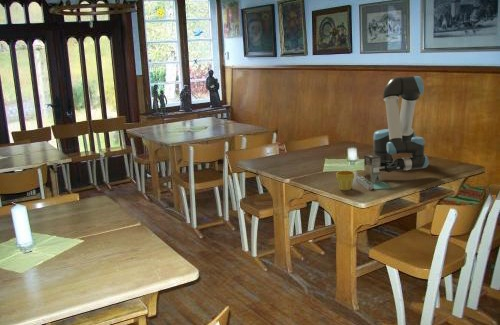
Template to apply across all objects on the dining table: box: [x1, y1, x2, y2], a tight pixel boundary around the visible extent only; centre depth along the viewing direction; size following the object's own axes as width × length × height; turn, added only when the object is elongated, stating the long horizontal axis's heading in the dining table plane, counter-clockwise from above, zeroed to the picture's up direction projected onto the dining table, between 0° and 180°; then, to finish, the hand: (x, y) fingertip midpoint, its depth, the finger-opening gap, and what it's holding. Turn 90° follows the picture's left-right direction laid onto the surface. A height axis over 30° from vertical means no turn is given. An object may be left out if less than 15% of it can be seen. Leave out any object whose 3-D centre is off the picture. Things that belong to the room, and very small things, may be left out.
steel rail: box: [356, 175, 375, 191], centre depth 300 cm, size 3×20×3 cm, turn 8°
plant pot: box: [335, 170, 355, 191], centre depth 295 cm, size 10×10×10 cm
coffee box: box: [363, 153, 381, 183], centre depth 305 cm, size 9×6×16 cm
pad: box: [372, 181, 392, 191], centre depth 296 cm, size 10×12×1 cm
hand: (369, 167), depth 304 cm, fingers open, 13 cm apart
